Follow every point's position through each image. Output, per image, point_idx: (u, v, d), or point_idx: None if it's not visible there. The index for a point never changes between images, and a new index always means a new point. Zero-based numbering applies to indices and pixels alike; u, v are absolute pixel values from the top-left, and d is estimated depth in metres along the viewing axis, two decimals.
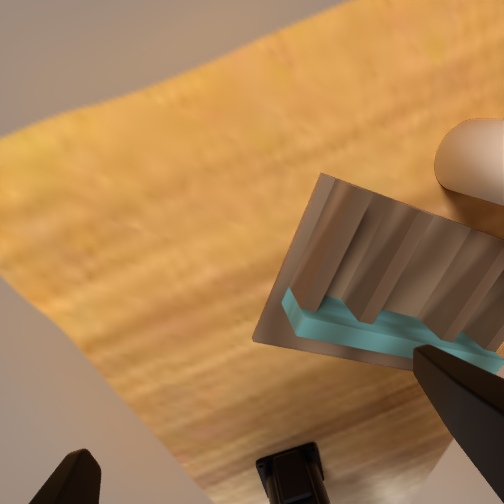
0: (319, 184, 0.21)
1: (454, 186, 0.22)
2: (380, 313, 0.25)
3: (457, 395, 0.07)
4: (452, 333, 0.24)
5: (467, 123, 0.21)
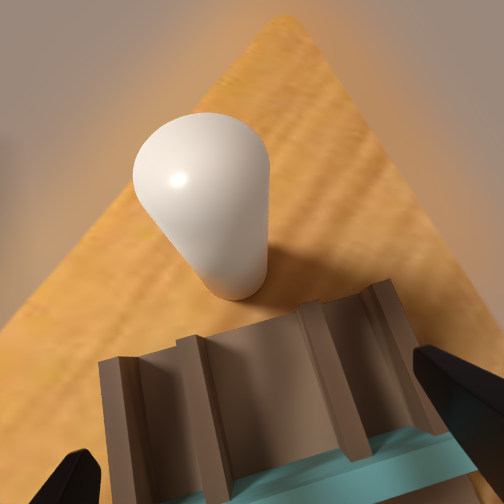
0: None
1: (226, 295, 0.21)
2: (269, 474, 0.18)
3: (457, 395, 0.07)
4: (356, 442, 0.16)
5: None
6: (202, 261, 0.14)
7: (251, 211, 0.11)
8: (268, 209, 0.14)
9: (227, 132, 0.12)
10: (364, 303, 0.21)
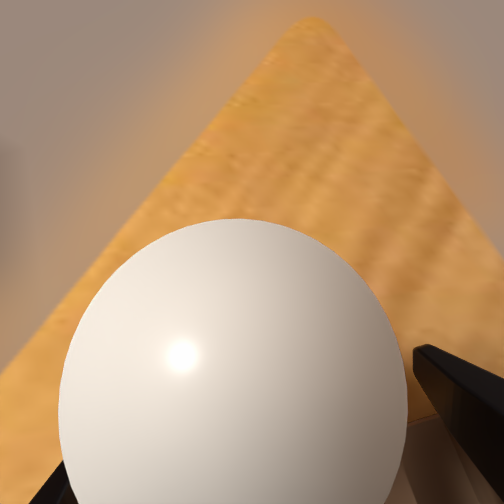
0: None
1: None
2: None
3: (457, 395, 0.07)
4: None
5: None
6: None
7: None
8: None
9: (288, 270, 0.05)
10: None
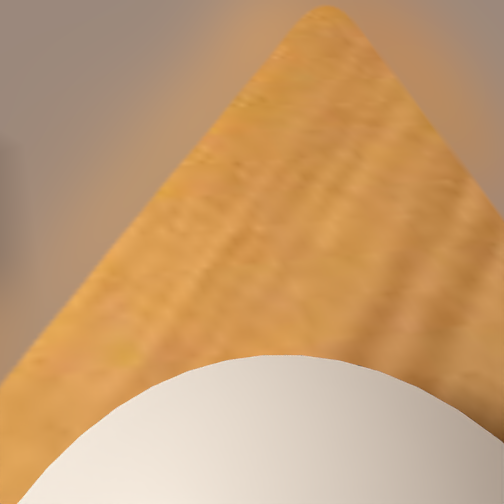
0: None
1: None
2: None
3: None
4: None
5: None
6: None
7: None
8: None
9: (408, 487, 0.02)
10: None
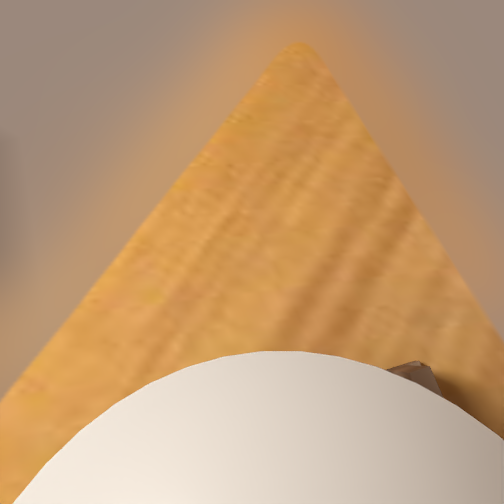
0: None
1: None
2: None
3: None
4: None
5: None
6: None
7: None
8: None
9: (406, 482, 0.02)
10: None
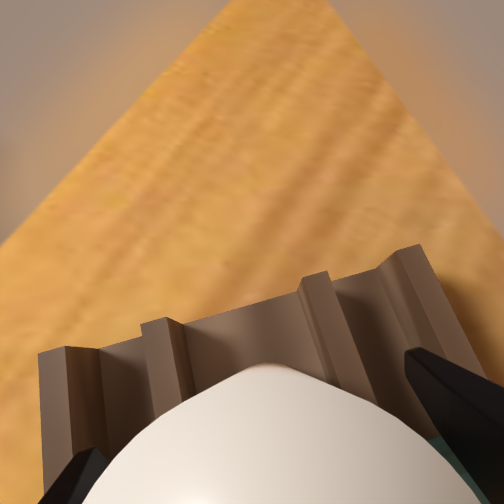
0: None
1: None
2: None
3: (447, 398, 0.07)
4: None
5: None
6: None
7: None
8: None
9: (360, 469, 0.03)
10: (383, 280, 0.17)
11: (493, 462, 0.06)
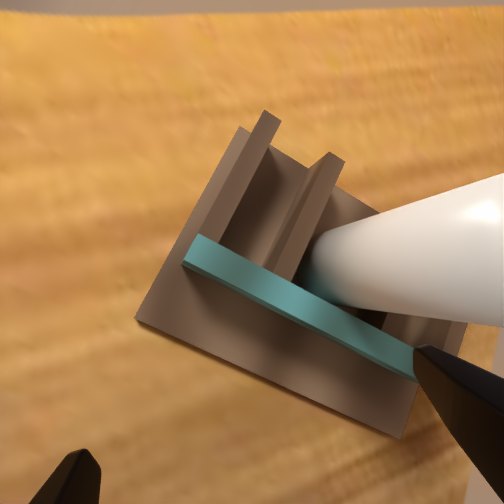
0: (234, 135, 0.21)
1: (315, 291, 0.20)
2: None
3: (457, 395, 0.07)
4: (392, 325, 0.19)
5: None
6: (404, 294, 0.12)
7: None
8: None
9: None
10: None
11: None
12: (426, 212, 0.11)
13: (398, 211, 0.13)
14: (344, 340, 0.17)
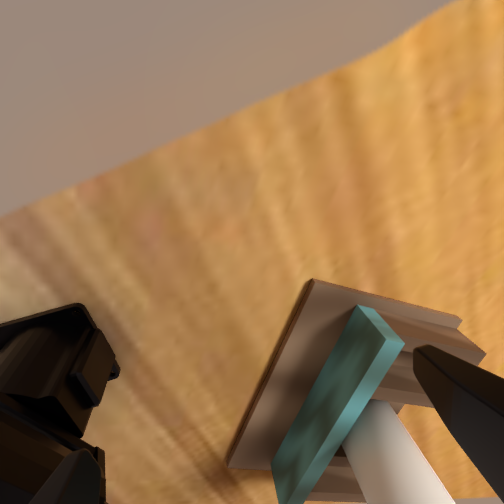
0: (454, 317, 0.26)
1: None
2: None
3: (457, 395, 0.07)
4: None
5: None
6: None
7: None
8: None
9: None
10: None
11: None
12: None
13: (447, 492, 0.19)
14: (324, 443, 0.23)
